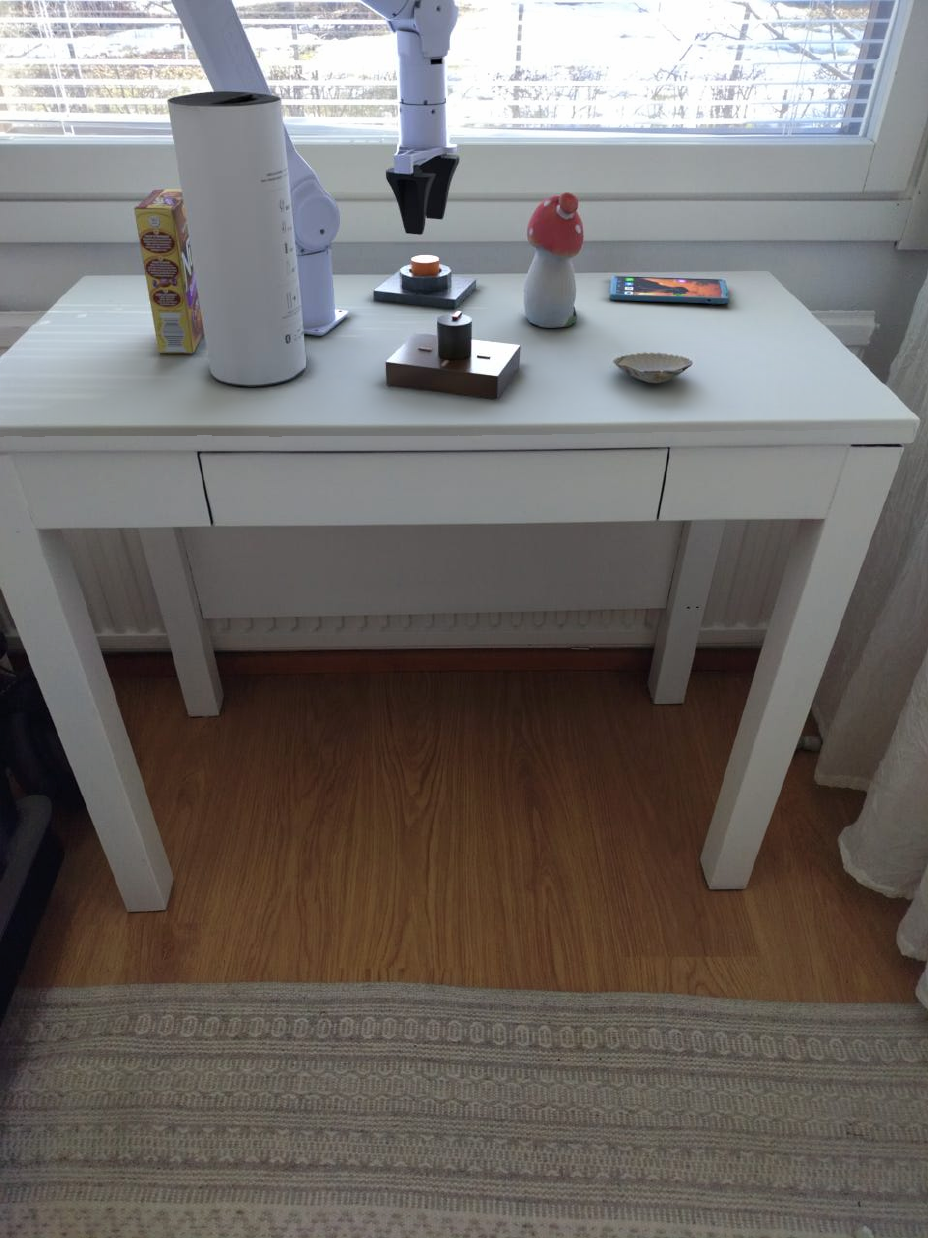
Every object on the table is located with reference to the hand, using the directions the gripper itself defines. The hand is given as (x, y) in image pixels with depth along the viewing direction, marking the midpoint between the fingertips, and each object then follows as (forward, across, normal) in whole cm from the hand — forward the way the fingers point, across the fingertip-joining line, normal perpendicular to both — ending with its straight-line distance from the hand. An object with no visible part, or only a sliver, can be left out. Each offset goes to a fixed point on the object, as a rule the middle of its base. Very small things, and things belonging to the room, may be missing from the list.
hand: (424, 225), depth 114 cm
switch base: (+8, 0, 0) cm, 8 cm away
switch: (+6, 0, 0) cm, 6 cm away
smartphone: (+9, +10, -30) cm, 33 cm away
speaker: (+9, -30, +8) cm, 32 cm away
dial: (+6, -25, -12) cm, 28 cm away
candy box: (+9, -25, +20) cm, 33 cm away
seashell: (+9, -19, -32) cm, 38 cm away
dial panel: (+8, -25, -12) cm, 29 cm away
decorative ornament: (+9, -4, -18) cm, 20 cm away
